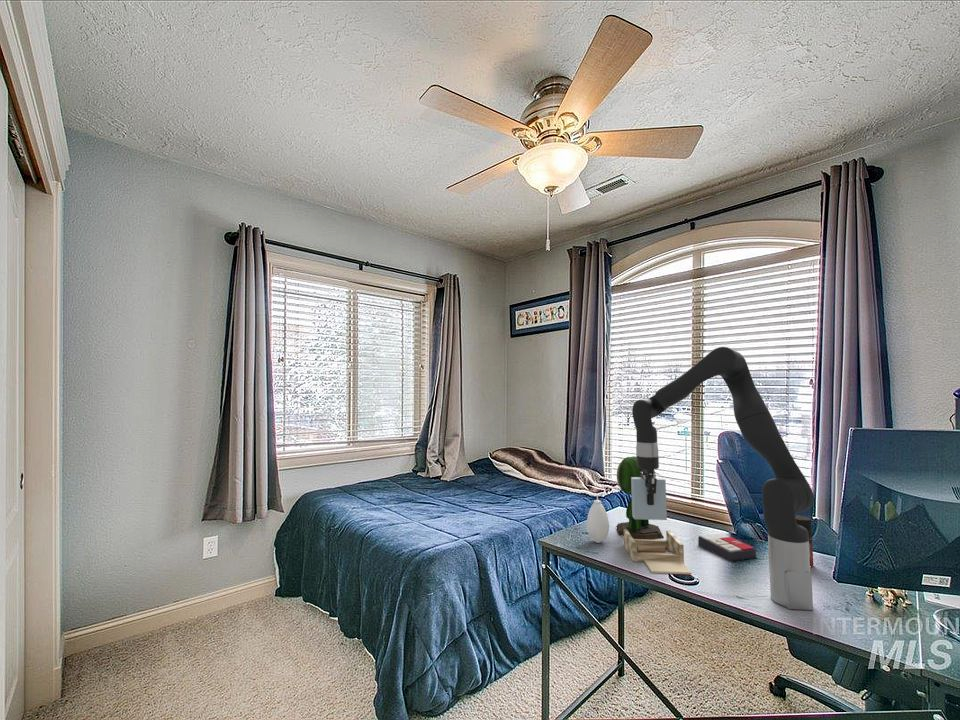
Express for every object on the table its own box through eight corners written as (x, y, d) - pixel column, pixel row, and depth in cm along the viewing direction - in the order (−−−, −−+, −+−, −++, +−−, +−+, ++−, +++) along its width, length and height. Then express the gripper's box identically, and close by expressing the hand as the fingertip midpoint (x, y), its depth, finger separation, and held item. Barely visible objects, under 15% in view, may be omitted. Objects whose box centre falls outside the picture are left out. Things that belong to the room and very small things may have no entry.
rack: (684, 563, 147) (683, 544, 148) (633, 561, 149) (632, 543, 149) (670, 547, 162) (669, 530, 162) (623, 545, 164) (623, 529, 164)
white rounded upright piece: (598, 547, 162) (597, 497, 163) (583, 540, 169) (582, 492, 170) (613, 543, 166) (612, 494, 167) (598, 537, 173) (597, 490, 174)
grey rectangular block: (666, 520, 156) (665, 479, 157) (634, 519, 157) (633, 479, 158) (663, 517, 160) (662, 477, 161) (632, 516, 161) (631, 477, 162)
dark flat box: (730, 550, 149) (697, 534, 164) (730, 563, 149) (697, 545, 164) (756, 547, 152) (722, 531, 167) (756, 560, 152) (722, 543, 167)
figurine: (625, 522, 191) (623, 452, 193) (672, 532, 178) (670, 457, 180) (606, 532, 179) (604, 456, 181) (655, 543, 165) (652, 462, 167)
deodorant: (798, 559, 150) (796, 514, 151) (817, 565, 145) (815, 518, 146) (787, 562, 148) (785, 516, 149) (806, 568, 142) (803, 521, 143)
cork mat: (691, 574, 139) (691, 572, 139) (651, 572, 140) (651, 570, 140) (681, 563, 147) (681, 561, 148) (644, 561, 149) (644, 559, 149)
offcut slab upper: (666, 551, 152) (664, 545, 154) (638, 550, 153) (637, 545, 155) (664, 556, 154) (662, 550, 156) (637, 555, 155) (636, 549, 157)
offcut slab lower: (673, 562, 149) (673, 556, 149) (642, 561, 150) (642, 554, 150) (670, 559, 152) (670, 552, 152) (640, 557, 153) (639, 551, 153)
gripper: (664, 457, 153) (665, 508, 152) (652, 452, 167) (654, 498, 166) (641, 457, 154) (643, 508, 152) (632, 452, 168) (633, 498, 166)
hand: (648, 503), depth 159 cm, fingers closed on grey rectangular block, 3 cm apart
